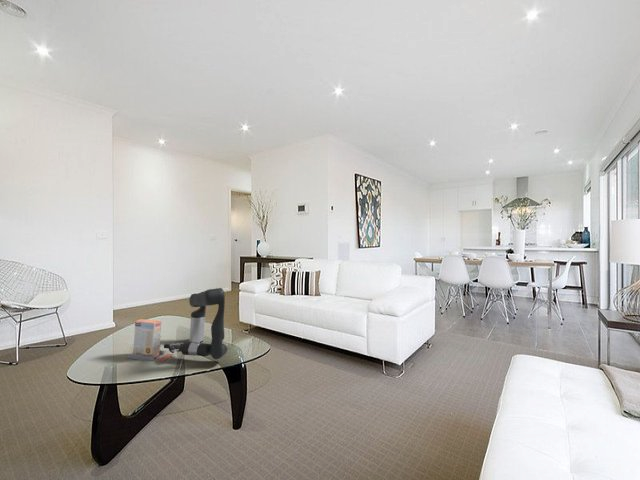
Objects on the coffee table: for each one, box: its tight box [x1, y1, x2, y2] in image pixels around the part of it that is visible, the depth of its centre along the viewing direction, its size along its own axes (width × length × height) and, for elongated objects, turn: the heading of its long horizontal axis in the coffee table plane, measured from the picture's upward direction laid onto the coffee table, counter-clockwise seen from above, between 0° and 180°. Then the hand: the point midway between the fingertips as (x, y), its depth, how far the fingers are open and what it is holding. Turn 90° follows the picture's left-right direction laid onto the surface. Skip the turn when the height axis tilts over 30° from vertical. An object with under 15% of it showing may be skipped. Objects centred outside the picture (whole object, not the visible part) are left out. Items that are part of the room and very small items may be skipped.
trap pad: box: [155, 353, 175, 362], centre depth 177 cm, size 11×4×1 cm, turn 174°
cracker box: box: [132, 318, 162, 359], centre depth 178 cm, size 14×6×21 cm, turn 74°
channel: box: [126, 349, 166, 361], centre depth 178 cm, size 11×16×2 cm, turn 84°
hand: (164, 345), depth 177 cm, fingers closed
